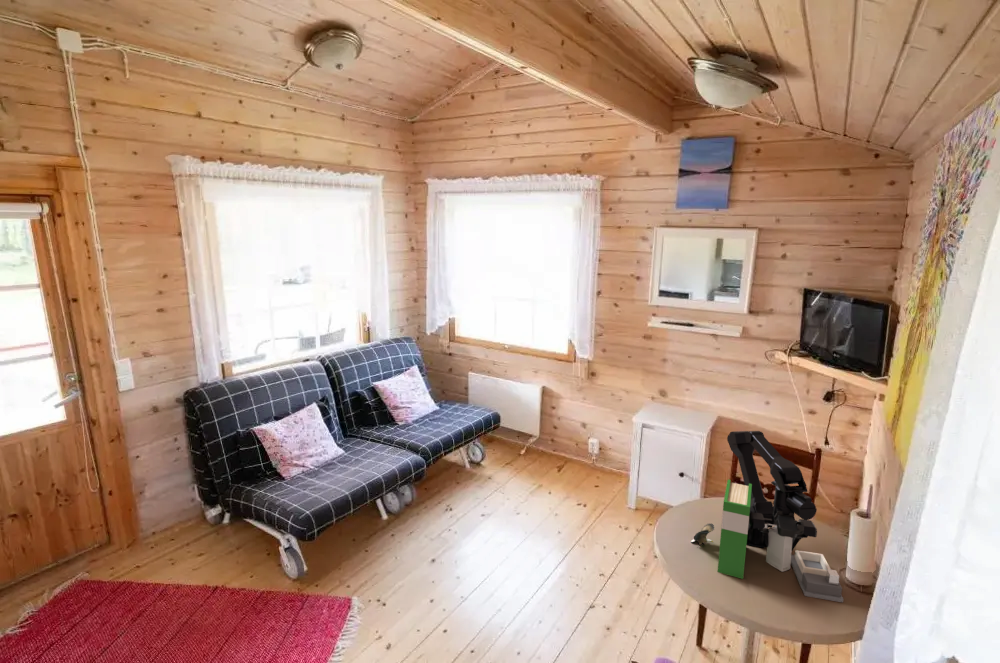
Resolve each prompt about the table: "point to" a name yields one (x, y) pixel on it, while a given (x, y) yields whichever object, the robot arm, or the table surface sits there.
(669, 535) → the table surface
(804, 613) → the table surface
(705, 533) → the eagle figurine
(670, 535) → the table surface
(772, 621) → the table surface
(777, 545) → the skincare box
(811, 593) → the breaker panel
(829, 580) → the breaker handle
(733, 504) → the hardback book
